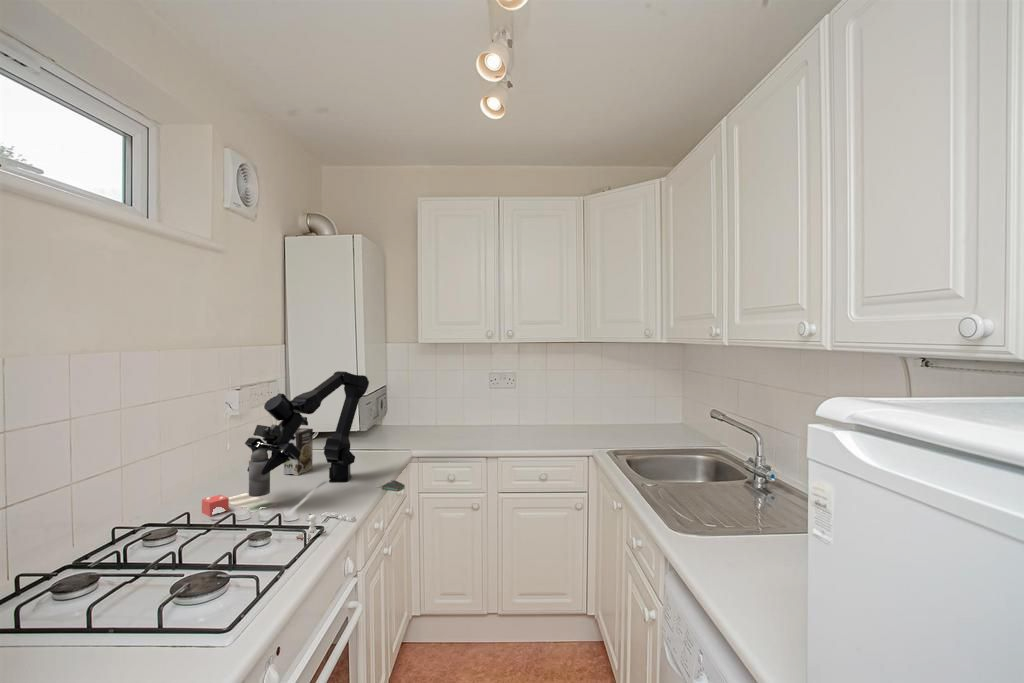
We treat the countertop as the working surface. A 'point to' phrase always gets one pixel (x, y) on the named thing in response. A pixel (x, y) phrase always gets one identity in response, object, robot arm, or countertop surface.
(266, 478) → the pawn
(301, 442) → the coffee box
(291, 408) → the robot arm
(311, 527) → the game pieces
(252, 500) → the game track
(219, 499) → the red arch block
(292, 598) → the countertop surface
